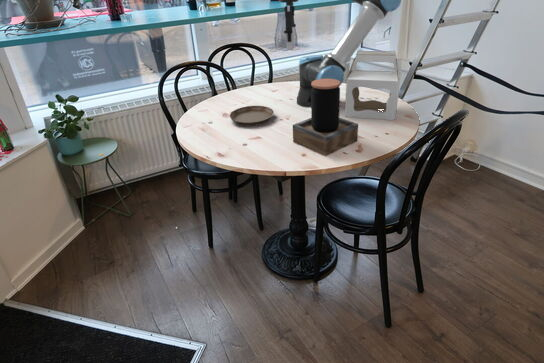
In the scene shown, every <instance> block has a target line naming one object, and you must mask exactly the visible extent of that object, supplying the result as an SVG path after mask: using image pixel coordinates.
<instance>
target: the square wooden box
mask: <svg viewBox="0 0 544 363" xmlns="http://www.w3.org/2000/svg"><path fill="white" fill-rule="evenodd" d="M358 134H359V122H358V123H357V122H354V121H350V120H348V119H345V118H341V117H339V126H338V128H337V129H336V130H335V131H333V132H327V133H322V132H317V131H315V130H314V129H313V127H312V126H311V117H310V118H307V119H304V120H302V121H299V122H296V123H294V124H292V142H293V143H294V144H296V145H298V146H301V147H303V148H304V149H305V148H306V149H308V150H310V151H313V152H314V153H317V154H319V155H321V156H325V157H327V156H329V155H331V154H334V153H336V152H338V151H339V150H342V149H344V148H347V147H348V146H350V145H353V144H355V143H357V142H358V137H359V136H358Z"/></svg>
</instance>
